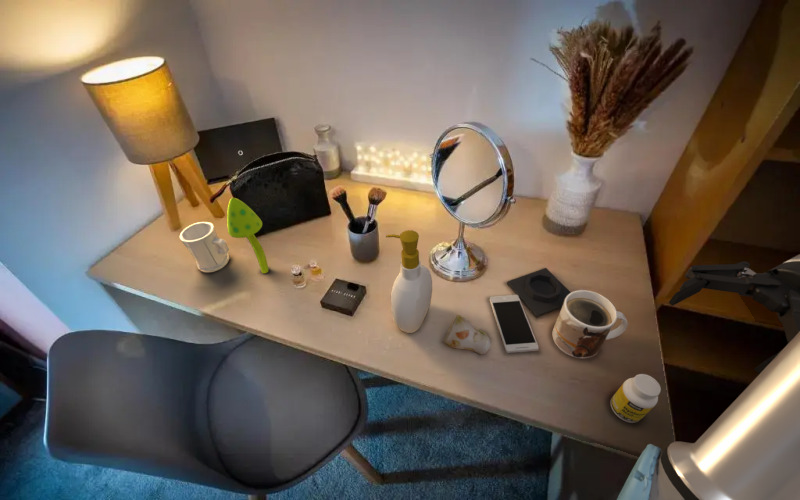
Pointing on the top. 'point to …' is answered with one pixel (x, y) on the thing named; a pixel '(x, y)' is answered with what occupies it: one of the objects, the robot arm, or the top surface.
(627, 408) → the supplement bottle
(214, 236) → the cup
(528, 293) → the dock pad
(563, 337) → the mug
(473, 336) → the patterned beanbag
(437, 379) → the top surface
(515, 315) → the smartphone
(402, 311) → the soap bottle
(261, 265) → the mushroom
